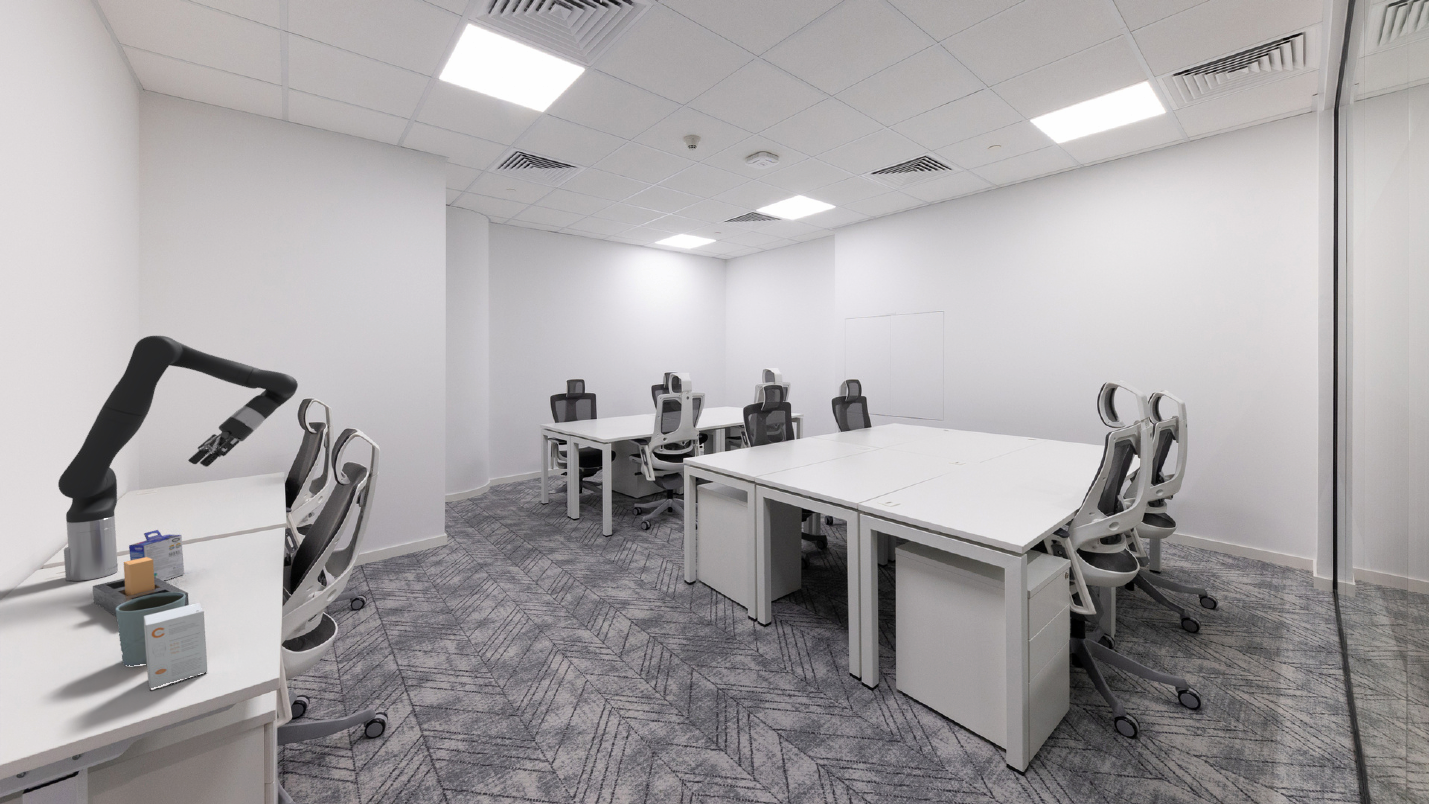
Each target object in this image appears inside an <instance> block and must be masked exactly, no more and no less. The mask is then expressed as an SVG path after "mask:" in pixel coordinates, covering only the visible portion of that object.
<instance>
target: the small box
mask: <svg viewBox="0 0 1429 804" xmlns="http://www.w3.org/2000/svg"><path fill="white" fill-rule="evenodd" d="M205 626H206V624H205V611H204V610H203V608H202V605H201V603H200V602H196V603H193V604H189V605H187V606H183V607H179V608H175V609H171V610H167V611H163V612H158V613H154V614H150V615H146V616H144V631H145V645H146V660H147V665H146V668H147V669H146V670H147V671H146V672H147V682H148V686H149V687H150V688H149V690H150V689H151V688H154V687H158V686H161V685H163V684H166V683H170V682H174V681H177V680H180V679H185V678H189V677H190V676H195V675H198V674H200V673H205V672H207V673H208V658H207V657H208V656H207V641H206V638H207V637H206V627H205Z"/></svg>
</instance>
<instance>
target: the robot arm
mask: <svg viewBox="0 0 1429 804" xmlns="http://www.w3.org/2000/svg"><path fill="white" fill-rule="evenodd" d="M169 366H171V367H177V368H178V367H179V368H181V369H182V368H183V369H188V370H192V371H196V372H199V373H202V374H205V375H208V376H210V377H213V378H215V379H219V380H221V381H223V382H224V381H225V382H226V383H230V384H234V385H236V386H237V385H238V386H241V387H245V388H247V389H252V390H253V389H254V390H255V389H262V390H264V391H262V392H261V393H260V394H257V395H256V396H254V397H253V398H251V399H250V400H249V401H247V402H246V404H244V405H243V406H242V407H240V408H239V409H237V410H236V411H235V412H234V413H233V414H231V415H230V416H229V417H228V418H227V419H226V420H225V421H224V422H222V423H221V424H220V425H219V426H218V430H220V432H221V433H220V434H216V433H213V434H212V435H211V436H210V437H208V438H207V439H206V440H205V441H204V442H203V443H202V444H200V445H199V446H198V447H197V451H196V452H195V453H194V454H193V455H192V456H191V457H190V458H188V463H190V464H192V465H197V464H198V463H199V464H200V465H202V466H203V467H206V468H207V467H210V465H212V464H213V463H214V462H215V461H216V460H217V459H218V458H220V457H225V456H227V454H229V453H230V451H232V450H233V448H234V447H236V446H237V445H238V444H239V443H240V442H244V441H245V440H246V439H247V438H248V437H249V436H251V434H253V433H254V432H255V431H256V430H257V429H258V428H259V427H260V426H261V425H262V424H263V423H264V422H265V420H266V419H268V418H269V416H271V415H272V414H273V413H274V412H276V410H277V409H278V408H279V407H281V406H282V405H283V404H285V403H286V402H287V401H289V400H290V399H291V398H292V397H294V395H295V394H296V391H297V389H298V386H299V385H298V383H299V382H298V381H297V380H296V378H294V376H291V375H289V374H286V373H282V372H278V371H272V370H269V369H268V370H267V369H261V368H258V367H255V366H251V365H248V364H244V363H242V362H238V361H234V360H230V359H226V358H223V357H219V356H215V355H213V354H209V353H206V352H203V351H201V350H198V349H195V348H193V347H190V346H188V345H186V344H184V343H182V342H179V341H177V340H175V339H173V338H171V337H170V336H169V337H168V336H164V335H149V336H146V337H142V338H141V339H139V340H138V341H137V342H136V344H135V346H134V348H133V351H132V353H131V355H130V359H129V362H128V365H127V366H126V369H125V371H124V373H123V375H122V376H121V378H120V379H119V381H118V382H117V383H116V385H115V386H114V387H113V389H112V391H111V393H109V396H108V397H107V399H106V400H105V402H104V404H103V405H102V407H101V409H100V410H99V412H98V414H97V416H96V418H95V420H94V421H93V422H94V423H93V424H92V426H91V428H90V430H89V432H88V433H87V435H86V437H85V440H84V441H83V444H82V446H81V447H80V450H78V451H77V452H78V453H77V454H76V455H75V457H74V458H73V459H72V460H71V462H70V463H69V464H68V466H67V467H66V469H65V470H64V471H63V473H62V474H61V476H60V477H59V480H58V489H59V492H60V493H61V494H62V495H63V496H65V497H67V498H70V499H71V500H72V502H71V505H70V508H69V509H68V510H67V512H66V513H65V515H66V516H65V519H66V534H67V546H66V547H65V548H64V549H63V559H64V560H63V561H64V573H65V581H66V582H67V581H73V582H74V581H75V582H78V581H81V582H83V581H89V580H95V579H99V578H103V577H108V576H110V575H113V574H115V573H118V572H119V571H118V570H119V569H118V568H119V567H118V565H119V563H118V549H117V533H116V531H117V530H116V517H115V509H116V506H117V504H118V503H117V502H118V483H117V482H118V480H117V475H116V473H115V471H114V470H113V469H112V468H111V465H112V462H113V460H114V459H115V458H116V456H117V454H118V453H119V452H120V451H121V450H122V449H123V448H124V447H125V446H126V445H127V443H129V441H131V439H133V437H134V436H135V435H136V433H137V432H138V431H139V430H140V428H141V426H142V424H143V423H144V421H145V419H146V418H147V415H148V414H149V411H150V409H151V406H152V404H153V400H154V395H155V391H156V388H157V384H158V383H159V381H160V379H161V378H162V376H163V375H164V373H165V372H166V370H167V369H168V368H169Z"/></svg>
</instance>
